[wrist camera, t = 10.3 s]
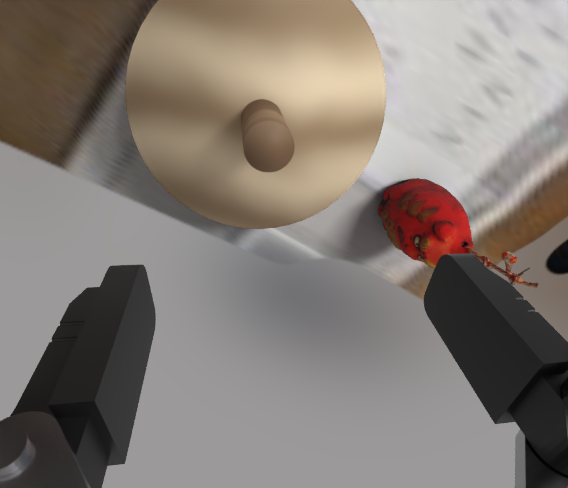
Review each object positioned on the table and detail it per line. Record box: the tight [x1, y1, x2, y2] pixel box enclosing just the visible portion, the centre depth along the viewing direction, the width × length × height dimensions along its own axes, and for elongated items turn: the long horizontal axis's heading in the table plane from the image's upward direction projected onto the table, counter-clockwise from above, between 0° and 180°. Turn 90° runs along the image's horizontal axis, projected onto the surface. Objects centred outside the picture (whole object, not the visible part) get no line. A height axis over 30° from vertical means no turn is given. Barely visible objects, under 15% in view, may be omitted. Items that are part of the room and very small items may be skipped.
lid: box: [125, 0, 386, 229], centre depth 21 cm, size 17×17×6 cm
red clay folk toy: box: [378, 178, 539, 288], centre depth 30 cm, size 8×7×15 cm
